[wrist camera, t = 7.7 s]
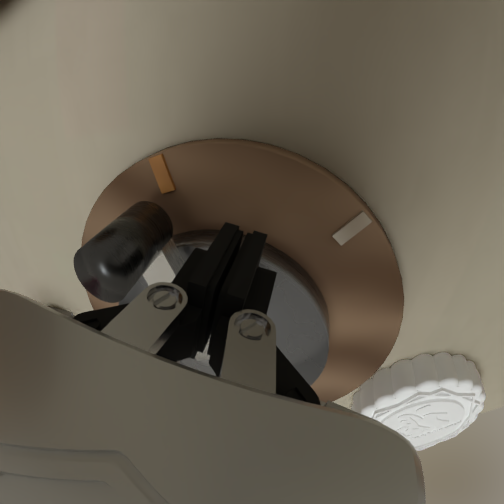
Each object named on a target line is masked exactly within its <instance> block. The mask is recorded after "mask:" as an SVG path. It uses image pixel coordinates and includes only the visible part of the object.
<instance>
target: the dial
mask: <svg viewBox="0 0 504 504" xmlns="http://www.w3.org/2000/svg"><path fill="white" fill-rule="evenodd" d="M219 231H220V230H212V229H203V230H192V231H187V232H183V233H178V234H176V235H173V225H172V221H171V219H170V217H169V215H168V214H167V213H166V211H165V210H164V209H163V208H162V207H160V206H159V205H157V204H156V203H153V202H150V201H140V202H137V203H135V204H134V205H132V206H131V207H130V208H128V209H127V210H126V211H125V212H123V213H122V214H121V215H120V216H118V217H117V218H116V219H115V220H113V221H112V222H111V223H110V224H108V225H107V226H106V227H105V228H104V229H102V230H101V231H100V232H99V233H98V234H96V235H95V236H94V237H93V238H92V239H90V240H89V241H88V242H87V243H86V244H85V245H83V246H82V247H81V248H80V249H79V250H78V251H77V252H76V254H75V257H74V268H75V272H76V275H77V277H78V279H79V280H80V282H81V284H82V285H83V286H84V287H85V289H86V290H87V291H88V292H89V293H91V294H92V295H93V296H95V297H96V298H98V299H100V300H102V301H105V302H109V303H117V302H119V305H123V304H127V303H130V302H132V301H133V300H134V299H135V298H136V297H137V296H138V295H139V294H140V293H141V292H142V291H143V290H144V289H145V288H146V287H148V286H149V285H151V284H154V283H157V282H168V283H171V282H172V281H173V279H174V278H175V276H176V275H177V273H178V272H179V271H180V269H181V268H182V266H183V265H184V263H185V262H186V260H187V259H188V257H189V256H190V255H191V253H192V252H193V250H194V249H195V248H200V249H203V250H208V249H209V247H210V245H211V244H212V242H213V241H214V239H215V238H216V236H217V234H218V233H219ZM245 237H246V235H244V234H243V237H242V241H241V245H242V243H243V241H244V239H245ZM241 245H240V247H241ZM259 267H262V268H265V269H269V270H272V271H275V272H277V275H276V279H275V283H274V287H273V291H272V295H271V299H270V303H269V307H268V311H267V316H268V317H269V318H270V319H272V321H273V322H274V324H275V327H276V346H277V347H278V348H279V349H280V351H281V352H282V353H283V354H284V355H285V357H286V358H287V359H288V360H289V361H290V363H291V364H292V365H293V366H294V367H295V369H296V370H297V371H298V372H299V373H300V375H301V376H302V377H303V378H304V379H305V380H306V382H307V383H308V384H309V385H310V386H311V385H312V384H313V383H314V382H315V381H316V380H317V379H318V378H319V376H320V374H321V373H322V371H323V370H324V367H325V364H326V362H327V358H328V352H329V314H328V309H327V305H326V302H325V300H324V297H323V295H322V293H321V291H320V289H319V288H318V286H317V284H316V283H315V281H314V280H313V279H312V278H311V276H310V275H309V274H308V273H307V271H306V270H304V269H303V268H302V267H301V266H300V265H299V264H298V263H297V262H296V261H295V260H293V259H292V258H291V257H289V256H288V255H287V254H285V253H284V252H282V251H281V250H279V249H277V248H275V247H274V246H272V245H270V244H268V243H266V242H265V246H264V249H263V253H262V256H261V260H260V263H259ZM210 336H211V335H210ZM209 341H210V337H209V340H208V342H207V344H206V347H205V349H204V351H203V353H201V352H197V354H196V356H195V359H192V358H186V359H183V360H181V363H180V364H182V365H185V366H188V367H190V368H193V369H196V370H199V371H202V372H205V373H208V374H211V375H214V376H216V374H215V373H214V371H213V369H212V368H211V366H210V365H209V358H210V355H207V351H208V346H209Z"/></svg>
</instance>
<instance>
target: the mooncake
mask: <svg viewBox="0 0 504 504" xmlns="http://www.w3.org/2000/svg"><path fill="white" fill-rule="evenodd" d="M485 398H486V394H485V391H484V387H483V384H482V381H481V378H480V375H479V372H478V370H477V369H476V366H475V363H474V362H473V361H470V360H468V361H466V358H465V357H464V356H463V355H460V354H458V355H453V356H451V355H450V354H449V353H447V352H440V353H437V354H435V355H433V356H432V355H430V354H420V355H418V356H416V357H414V358H413V359H412V360H410V359H403V360H399V361H397V362H395V363H394V364H393V365H392V366H391V368H384V369H381V370H379V371H377V372H376V373H375V374H374V376H373V378H371V379H368V380H366V381H365V382H364V383H363V384H362V385H361V386H360V390H359V391H357V392H356V393H355V394H354V395H353V404H352V406H351V410H353V411H355V412H357V413H360V414H362V415H365V416H367V417H370V418H372V419H375V420H377V421H379V422H381V423H383V424H384V425H386V426H388V427H389V428H391V429H393V430H395V431H397V432H398V433H400V434H401V435H403V436H404V437H405V438H406V439H408V440H409V441H410V442H411V444H412V445H413V446H414V447H415V449H416V450H424V449H426V448H428V447H431V446H433V445H435V444H437V443H438V442H441V441H446V440H448V439H450V438H452V437H455V436H457V434H458V433H460V432H462V431H463V430H464V429H465V428H467V427H468V426H470V423H472V422H473V421H475V420H476V418H477V416H478V413H480V412H481V411H482V409H483V408H484V400H485Z"/></svg>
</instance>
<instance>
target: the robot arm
mask: <svg viewBox="0 0 504 504" xmlns="http://www.w3.org/2000/svg"><path fill="white" fill-rule="evenodd" d="M243 232H244V231H242V230H239V226H238V225H234V224H231V223H228V222H225V224H224V225H223V227H222V228H221V230H220V231H219V233H218V234H217V236H216V238H215V239H214V241H213V242H212V244H211V245H210V247H209V249H208V250H203V249H200V248H195V249H194V250H193V252H192V253H191V255H190V256H189V257H188V259H187V260H186V262H185V263H184V265H183V266H182V268H181V269H180V271H179V272H178V273H177V275H176V276H175V278H174V279H173V281H172V282H171V283H168V282H157V283H154V284H151V285H149V286H148V287H146V288H145V289H144V290H143V291H142V292H141V293H140V294H139V295H138V296H137V297H136V298H135V299H134V300H133V301H132V302H130V303H127V304H123V305H118V306H113V307H108V308H103V309H98V310H93V311H88V312H84V313H81V314H78V315H76V316H73V313H72V312H70V311H65V310H61V309H57V308H54V307H50V306H46V305H44V304H42V303H39V302H37V301H35V300H33V299H31V298H29V297H26V296H24V295H21V294H18V293H16V292H12V291H8V290H5V289H0V504H426V501H425V485H424V476H423V471H422V466H421V461H420V458H419V456H418V453H417V451H416V449H415V447H414V446H413V445H412V444H411V442H410V441H409V440H408V439H406V438H405V437H404V436H403V435H401V434H400V433H398V432H397V431H395V430H393V429H391V428H389V427H388V426H386V425H384V424H383V423H381V422H379V421H377V420H375V419H372V418H370V417H367V416H365V415H362V414H360V413H357V412H355V411H353V410H350V409H348V408H345V407H343V406H341V405H338V404H336V403H334V402H331V401H329V400H328V401H327V403H325V402H323V401H321V400H319V397H318V396H317V394H316V392H315V391H314V390H313V389H312V388H311V386H310V385H309V384H308V383H307V382H306V380H305V379H304V378H303V377H302V376H301V375H300V373H299V372H298V371H297V370H296V369H295V367H294V366H293V365H292V364H291V363H290V361H289V360H288V359H287V358H286V357H285V355H284V354H283V353H282V352H281V351H280V349H279V348H278V347H277V346H276V327H275V324H274V322H273V321H272V319H270V318H269V317H268V316H267V311H268V307H269V303H270V299H271V295H272V291H273V287H274V283H275V279H276V275H277V272H275V271H272V270H269V269H265V268H262V267H259V263H260V260H261V256H262V253H263V249H264V246H265V242H266V239H267V235H268V234H265V233H261V232H258V231H255V230H254V232H253V234H252V233H247V235H246V237H245V239H244V241H243V243H242V245H241V241H242V237H243ZM240 245H241V247H240ZM210 335H211V336H210ZM209 337H210V341H209V346H208V351H207V355H210V358H209V365H210V366H211V368H212V369H213V371H214V373H215V374H216V376H214V375H211V374H208V373H205V372H202V371H199V370H196V369H193V368H190V367H188V366H185V365H182V364H180V363H181V360H183V359H186V358H192V359H195V356H196V354H197V352H201V353H203V351H204V349H205V347H206V344H207V342H208V340H209Z"/></svg>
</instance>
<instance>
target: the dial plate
mask: <svg viewBox="0 0 504 504" xmlns="http://www.w3.org/2000/svg"><path fill="white" fill-rule="evenodd" d="M140 201H150V202H153V203H156V204H157V205H159V206H160V207H162V208H163V209H164V210H165V211H166V213H167V214H168V215H169V217H170V219H171V221H172V225H173V235H176V234H178V233H183V232H187V231H192V230H203V229H212V230H221V228H222V227H223V225H224V224H225V222H228V223H231V224H234V225H238V226H239V230H242V231H244V232H243V234H244V235H247V233H252V234H253V232H254V230H255V231H258V232H261V233H265V234H268V235H267V239H266V243H268V244H270V245H272V246H274V247H275V248H277V249H279V250H281V251H282V252H284V253H285V254H287V255H288V256H289V257H291V258H292V259H293V260H295V261H296V262H297V263H298V264H299V265H300V266H301V267H302V268H303V269H304V270H306V271H307V273H308V274H309V275H310V276H311V278H312V279H313V280H314V281H315V283H316V284H317V286H318V288H319V289H320V291H321V293H322V295H323V297H324V300H325V302H326V305H327V309H328V314H329V352H328V358H327V362H326V364H325V367H324V370H323V371H322V373H321V374H320V376H319V378H318V379H317V380H316V381H315V382H314V383H313V384H312V385H311V388H312V389H313V390H314V391H315V392H316V394H317V396H318V397H319V400H321V401H323V402H325V403H327V401H328V400H329V401H331V402H332V401H335V400H337V399H339V398H341V397H343V396H345V395H347V394H348V393H350V392H351V391H353V390H355V389H356V388H358V387H359V386H361V385H362V384H363V383H364V382H365V381H366V380H368V379H369V378H370V377H371V376H372V375H373V374H374V373H375V372H376V371H377V370H378V369H379V367H380V366H381V365H382V364H383V363H384V361H385V360H386V358H387V356H388V355H389V353H390V352H391V350H392V348H393V346H394V344H395V341H396V339H397V337H398V334H399V330H400V326H401V322H402V318H403V306H404V294H403V285H402V278H401V274H400V271H399V268H398V264H397V261H396V258H395V255H394V252H393V249H392V246H391V243H390V241H389V239H388V237H387V235H386V233H385V232H384V230H383V228H382V226H381V224H380V222H379V221H378V219H377V218H376V217H375V215H374V214H373V212H372V211H371V210H370V208H369V207H368V206H367V204H366V203H365V202H364V201H363V200H362V199H361V198H360V197H359V196H358V195H357V194H356V193H355V192H354V191H353V190H352V189H351V188H350V187H349V186H348V185H347V184H346V183H344V182H343V181H342V180H340V179H339V178H338V177H336V176H335V175H333V174H332V173H331V172H329V171H328V170H327V169H325V168H324V167H322V166H320V165H318V164H316V163H314V162H312V161H310V160H309V159H307V158H305V157H303V156H301V155H299V154H296V153H293V152H291V151H288V150H285V149H282V148H279V147H276V146H273V145H270V144H265V143H260V142H255V141H249V140H244V139H222V138H215V139H205V140H196V141H190V142H186V143H182V144H179V145H175V146H172V147H168V148H166V149H164V150H161V151H159V152H157V153H155V154H153V155H151V156H149V157H147V158H145V159H143V160H141V161H139V162H137V163H135V164H134V165H132V166H131V167H130V168H128V169H127V170H125V171H124V172H123V173H121V174H120V175H118V176H117V177H116V178H115V179H114V180H113V181H112V182H111V183H110V184H109V185H108V186H107V187H106V188H105V189H104V191H103V192H102V194H101V195H100V196H99V198H98V199H97V201H96V202H95V204H94V206H93V208H92V210H91V212H90V214H89V217H88V219H87V221H86V225H85V229H84V233H83V237H82V246H83V245H85V244H86V243H87V242H88V241H89V240H90V239H92V238H93V237H94V236H95V235H96V234H98V233H99V232H100V231H101V230H102V229H104V228H105V227H106V226H107V225H108V224H110V223H111V222H112V221H113V220H115V219H116V218H117V217H118V216H120V215H121V214H122V213H123V212H125V211H126V210H127V209H128V208H130V207H131V206H132V205H134V204H135V203H137V202H140ZM86 291H87V290H86ZM87 294H88V297H89V300H90V302H91V305H92V307H93V309H94V310H98V309H103V308H108V307H113V306H118V305H119V302H117V303H109V302H105V301H102V300H100V299H98V298H96V297H95V296H93V295H92V294H91V293H89V292H88V291H87Z"/></svg>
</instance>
